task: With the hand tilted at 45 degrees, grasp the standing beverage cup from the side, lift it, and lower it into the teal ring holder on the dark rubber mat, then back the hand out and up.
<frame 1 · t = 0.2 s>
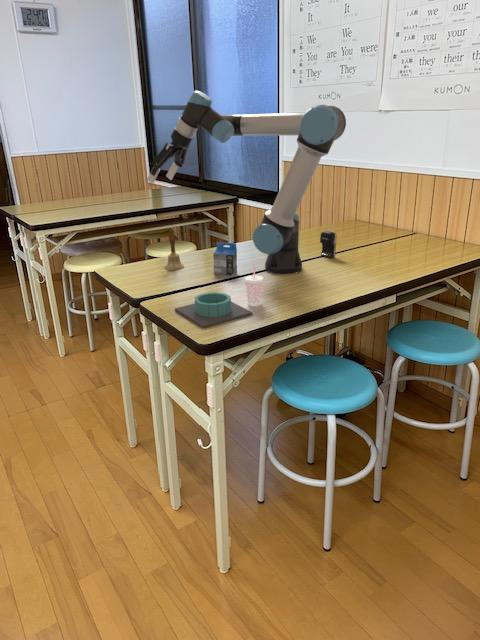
hand: (159, 179, 195), 36 cm above the table, tool tilted 35°, fingers open, 13 cm apart
beverage cup: (254, 304, 165), on the table
hand bell: (174, 267, 207), on the table
battery charger: (326, 257, 218), on the table
cup holder: (213, 313, 157), on the table
label tape box: (225, 274, 197), on the table
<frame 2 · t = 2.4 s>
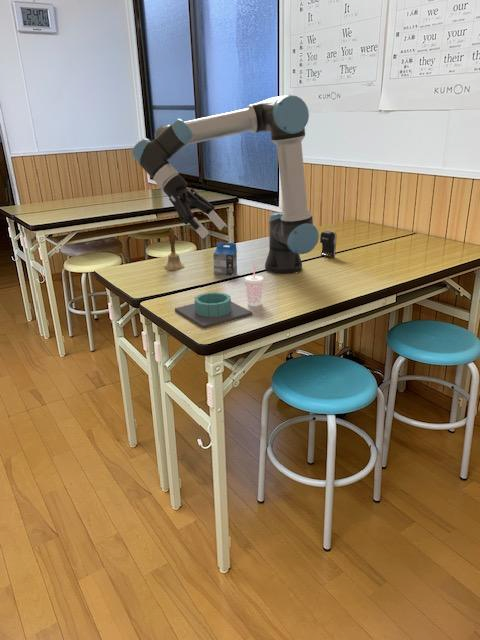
hand: (214, 231, 159), 24 cm above the table, tool tilted 45°, fingers open, 13 cm apart
nothing on the table moved.
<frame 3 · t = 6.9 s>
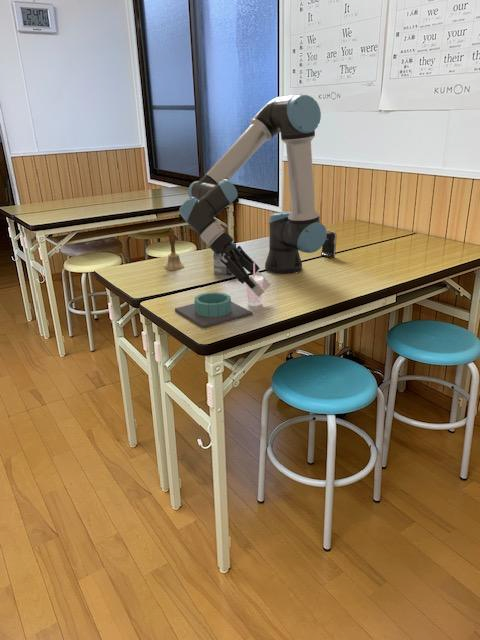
hand: (264, 290, 161), 5 cm above the table, tool tilted 45°, fingers closed on beverage cup, 6 cm apart
beverage cup: (254, 304, 165), on the table, touching gripper
everything else where it was.
when the fingers open (8 cm above the table, at t = 12.0 s): beverage cup drops 2 cm, resting on cup holder.
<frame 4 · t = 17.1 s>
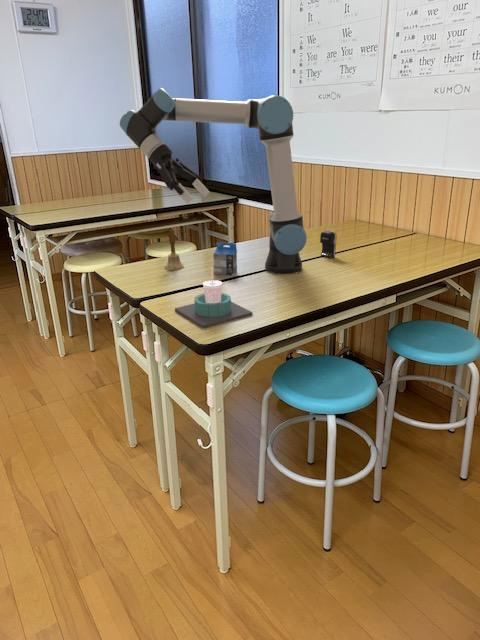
hand: (199, 197, 168), 33 cm above the table, tool tilted 45°, fingers open, 13 cm apart
beverage cup: (213, 310, 157), point 1 cm above the table, touching cup holder
everything else where it was.
at the end: beverage cup 0.3 cm off-centre on the cup holder, point 0.8 cm above the cup holder's base; beverage cup tilted 0°; the gripper is holding nothing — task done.
